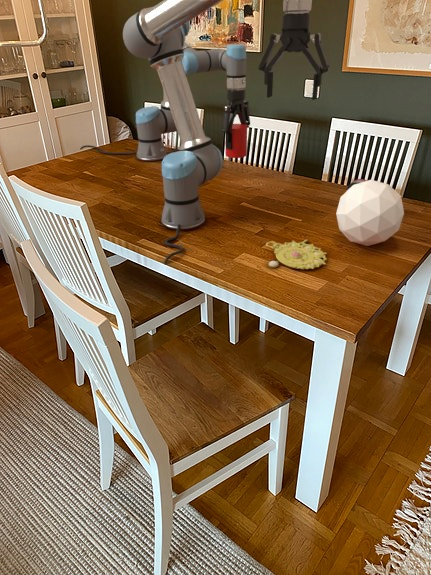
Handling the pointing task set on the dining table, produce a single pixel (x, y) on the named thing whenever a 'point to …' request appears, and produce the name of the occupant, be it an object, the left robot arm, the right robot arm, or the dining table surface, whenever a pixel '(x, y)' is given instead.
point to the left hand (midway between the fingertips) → (236, 146)
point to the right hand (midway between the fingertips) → (291, 98)
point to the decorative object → (297, 255)
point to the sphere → (369, 212)
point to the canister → (238, 141)
